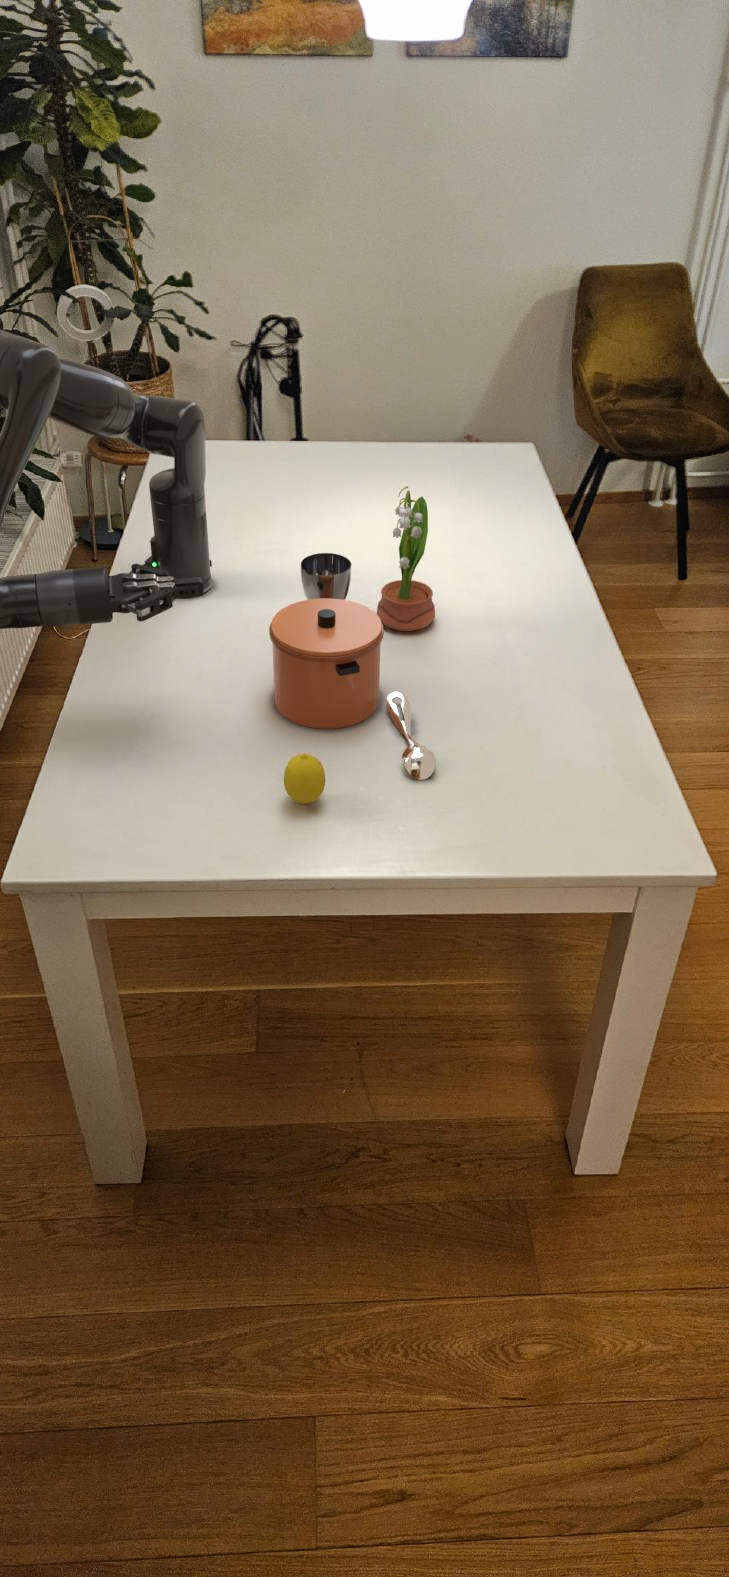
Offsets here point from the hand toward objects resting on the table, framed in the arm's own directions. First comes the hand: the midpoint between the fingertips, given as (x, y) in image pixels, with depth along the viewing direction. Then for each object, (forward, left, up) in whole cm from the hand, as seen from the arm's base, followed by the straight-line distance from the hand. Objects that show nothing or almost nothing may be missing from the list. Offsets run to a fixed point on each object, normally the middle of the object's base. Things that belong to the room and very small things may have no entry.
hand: (202, 586), depth 152 cm
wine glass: (+10, +24, -21) cm, 34 cm away
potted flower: (+20, +36, -21) cm, 47 cm away
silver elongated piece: (+30, +3, -21) cm, 37 cm away
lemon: (+21, -16, -21) cm, 34 cm away
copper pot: (+15, +10, -21) cm, 28 cm away
